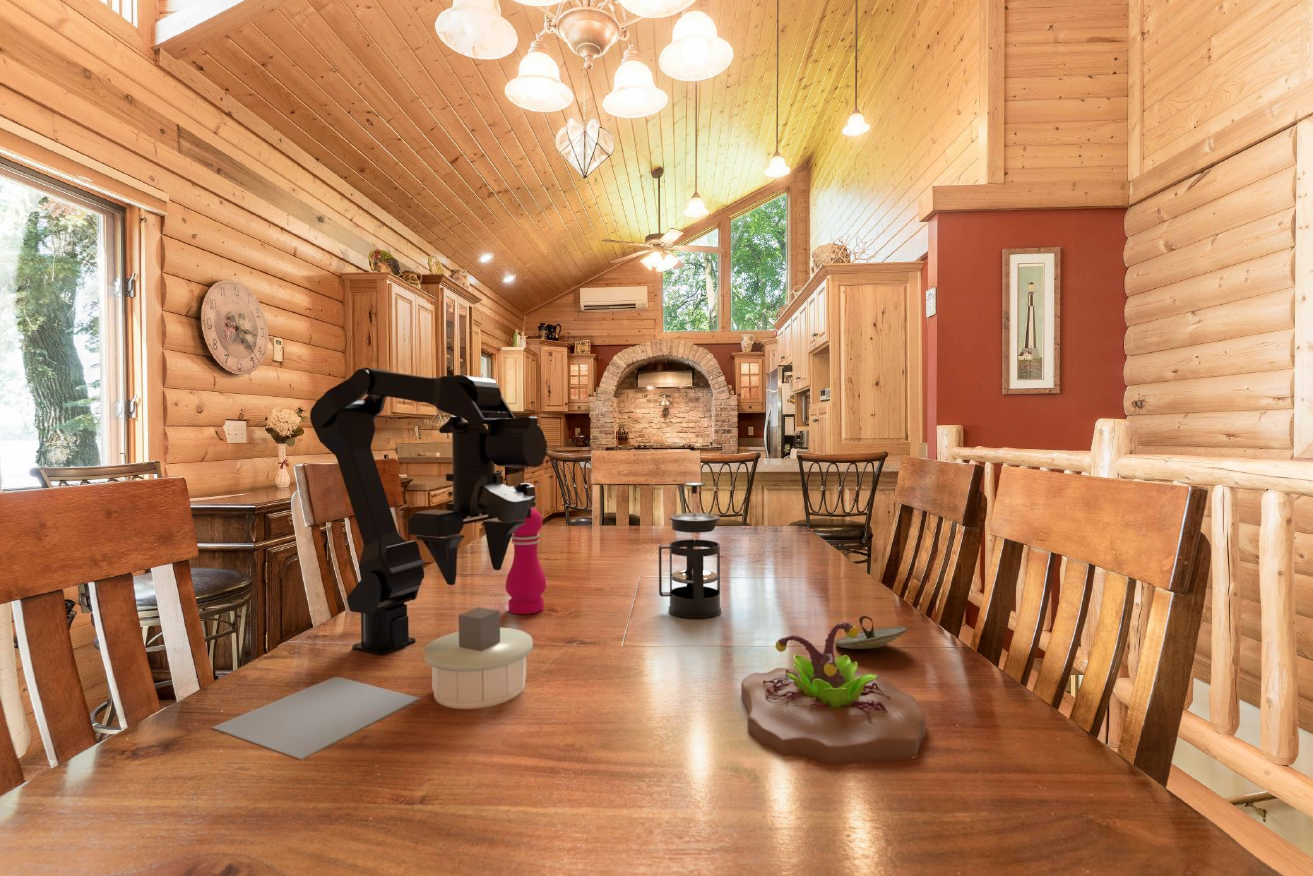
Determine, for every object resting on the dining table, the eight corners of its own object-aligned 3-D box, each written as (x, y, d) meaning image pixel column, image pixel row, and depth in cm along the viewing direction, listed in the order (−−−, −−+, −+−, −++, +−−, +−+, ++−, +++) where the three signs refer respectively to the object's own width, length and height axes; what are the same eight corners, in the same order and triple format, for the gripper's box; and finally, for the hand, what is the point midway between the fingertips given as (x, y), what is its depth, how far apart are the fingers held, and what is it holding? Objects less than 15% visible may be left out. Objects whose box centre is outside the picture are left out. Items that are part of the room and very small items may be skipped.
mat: (212, 730, 67) (212, 727, 67) (336, 679, 81) (335, 676, 81) (301, 763, 61) (301, 759, 61) (419, 701, 74) (419, 697, 74)
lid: (882, 670, 83) (882, 633, 83) (820, 649, 91) (820, 616, 91) (920, 651, 90) (920, 617, 90) (859, 634, 98) (859, 602, 97)
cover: (400, 660, 74) (400, 621, 74) (475, 628, 86) (475, 593, 86) (485, 679, 68) (484, 636, 68) (552, 641, 80) (552, 605, 80)
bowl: (413, 699, 75) (413, 658, 75) (476, 667, 85) (476, 631, 84) (484, 718, 70) (483, 674, 70) (542, 681, 80) (542, 643, 80)
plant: (957, 773, 59) (957, 658, 59) (752, 767, 60) (752, 654, 60) (890, 685, 79) (890, 598, 79) (737, 682, 80) (737, 597, 80)
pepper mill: (537, 616, 107) (536, 501, 106) (498, 614, 108) (497, 501, 108) (552, 604, 114) (551, 497, 114) (516, 602, 115) (515, 496, 115)
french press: (719, 602, 115) (719, 479, 115) (729, 618, 106) (729, 484, 105) (656, 604, 114) (656, 480, 114) (661, 620, 105) (661, 485, 104)
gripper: (471, 472, 74) (472, 601, 74) (560, 463, 91) (561, 568, 91) (404, 469, 79) (406, 590, 79) (500, 461, 96) (501, 561, 96)
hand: (475, 577), depth 86 cm, fingers open, 9 cm apart
